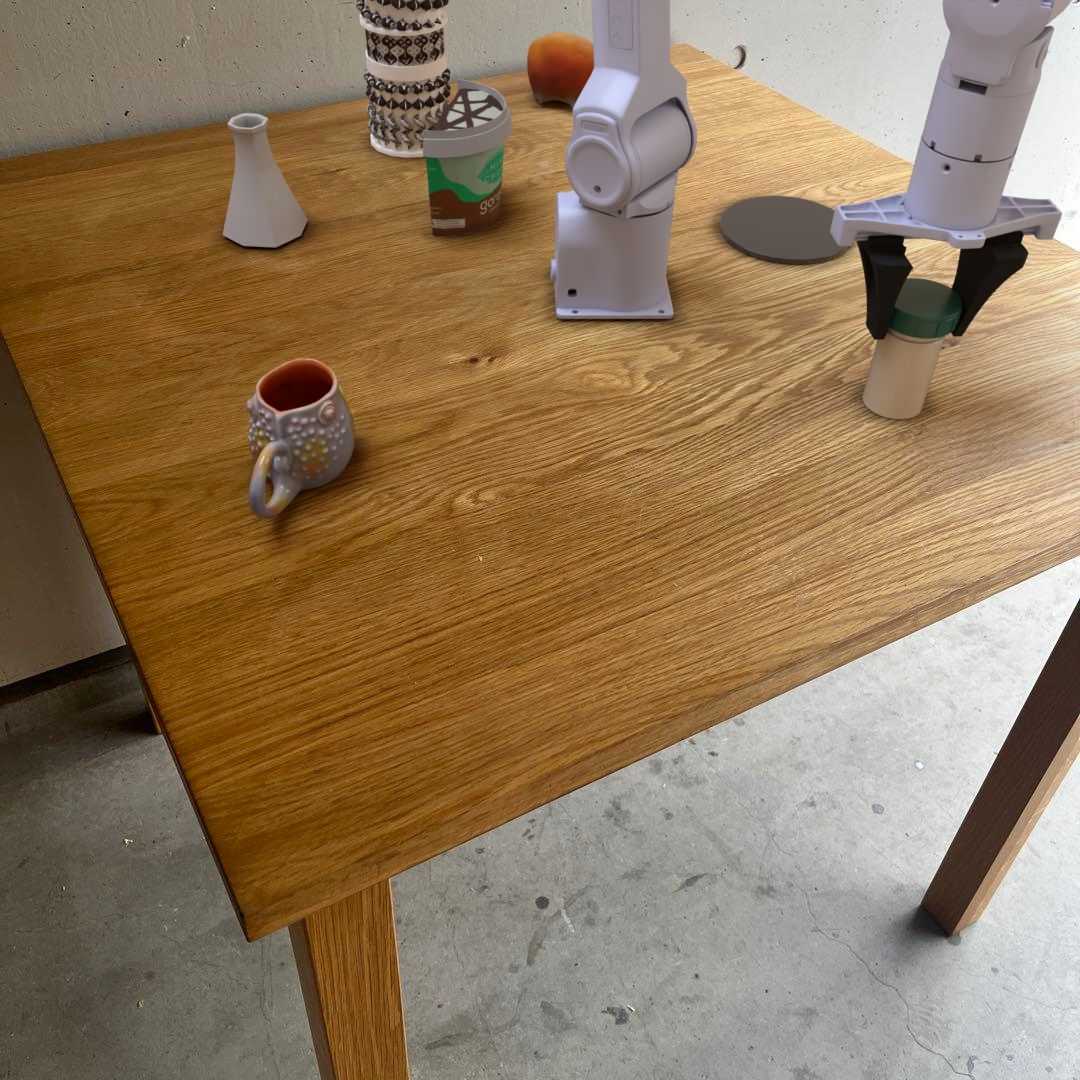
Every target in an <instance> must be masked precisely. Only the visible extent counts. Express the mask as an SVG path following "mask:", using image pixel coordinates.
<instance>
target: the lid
mask: <svg viewBox="0 0 1080 1080" xmlns="http://www.w3.org/2000/svg"><path fill="white" fill-rule="evenodd" d="M951 288H952V287H950V286H948V285H946V284H944V283H942V282H938V281H935V280H933V279H932V280H931V279H927V278H920V277H907V279H906V281H905V283H904V284H903V287H902V289H901V291H900V293H899V296H898V298H897V300H896V303H895V306H894V310H893V314H892V318H891V322H890V326H889V328H891V329H892V330H894V331H896V332H898V333H900V334H903V335H906V336H910V337H914V338H922V339H933V338H940V337H943V336H945V337H946V336H948V335H950V334H951V333H952V331H953V330H954V329H955V327H956V324H958V320H959V317H960V314H961V311H962V309H961V308H962V300H961V298H960V296H959V295H958V294H957V293H956V292H955V291H954V290H953V289H951Z"/></svg>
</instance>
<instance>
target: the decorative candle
mask: <svg viewBox="0 0 1080 1080" xmlns="http://www.w3.org/2000/svg"><path fill="white" fill-rule="evenodd" d="M355 1H356V9H357V10H358V11H359V12H360V13H359V25H360V26H361V27H362V28H363V29H364V31H365V41H366V49H365V60H366V68H365V70H364V73H363V79H364V80H365V82H366V84H367V85H366V88H365V91H364V93H365V95H366V96H367V98H368V100H369V102H368V104H367V106H366V114H367V116H368V117H369V121H368V124H367V127H368V130H369V133H370V137H369V138H370V145H371V147H373V149H375V150H376V151H377V152H378V153H382V154H385V155H387V156H390V157H396V158H404V159H410V158H411V159H412V158H413V159H415V158H424V157H423V139H424V130H430V131H433V129H434V128H435V126H436V124H437V122H438V120H439V118H440V116H441V114H442V112H443V110H444V108H445V107H446V106H447V105H449V104H450V103H451V102H450V99H449V97H451V90H452V88H451V85H450V84H449V81H450V79H451V69H449V68H448V60H447V51H446V47H445V35H444V34H445V32H444V30H445V29H444V28H445V26H446V25H447V24H448V23H449V19H448V14H447V10H445V9H443V8H444V7H445V6H447V5H448V4H449V2H450V0H355Z"/></svg>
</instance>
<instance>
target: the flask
mask: <svg viewBox="0 0 1080 1080" xmlns="http://www.w3.org/2000/svg"><path fill="white" fill-rule="evenodd" d="M268 125H269V117H267V116H265V115H262V114H259V113H249V112H247V113H246V112H243V113H240V114H237V115H235V116H232V117H230V119H229V120H228V122H227V128H228V130H229V131H231V132H232V135H233V142H234V171H233V177H232V185H231V190H230V196H229V201H228V205H227V210H226V215H225V220H224V226H223V231H222V236H224V237H225V238H228V239H229V240H231V241H233V242H235V243H236V244H239V245H240V246H243V247H258V248H259V247H260V248H278V247H280V246H282V245H284V244H286V243H289V242H291V241H293V240H295V239H297V238H299V237H300V236H302V234H303V231H304V229H305V228H306V225H307V223H308V221H309V219H308V218H307V216H306V214H305V212H304V210H303V208H302V207H301V205H300V203H299V201H297V198H296V197H295V195H294V194H293V192H292V190H291V188H290V186H289V185H288V183H287V181H286V179H285V178H284V175H283V174H282V172H281V170H280V168H279V166H278V164H277V162H276V160H275V157H274V153H273V151H272V149H271V145H270V143H269V138H268V132H267V127H268Z"/></svg>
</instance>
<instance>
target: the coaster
mask: <svg viewBox="0 0 1080 1080" xmlns="http://www.w3.org/2000/svg"><path fill="white" fill-rule="evenodd" d="M834 211H835V209H833V208H832V207H830V206H827V205H824V204H822V203H819V202H816V201H812V200H809V199H805V198H801V197H794V196H786V195H761V196H754V197H748V198H745V199H742V200H738V201H736V202H734V203H732V204H731V205H730V206H728V207H726V208H725V209H724V211H723V212H722V213H721V214H720V218H719V226H718V228H719V231H720V235H721V236H722V238H723V239H724V240H725V241H726V242H727V243H728V244H729V246H732V248H734V249H736V250H737V251H739V252H741V253H743V254H745V255H748V256H750V257H752V258H756V259H759V260H762V261H766V262H771V263H776V264H784V265H813V264H819V263H825V262H827V261H830V260H831V261H832V260H833V259H836V258H838V257H839V256H841V255H843V254H844V253H845V252H846V251H848V249H849V248H850V247H851V246H838V244H837V243H836V241H835V240H834V238H833V236H832V234H831V232H830V230H831V225H832V221H833V216H834Z"/></svg>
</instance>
